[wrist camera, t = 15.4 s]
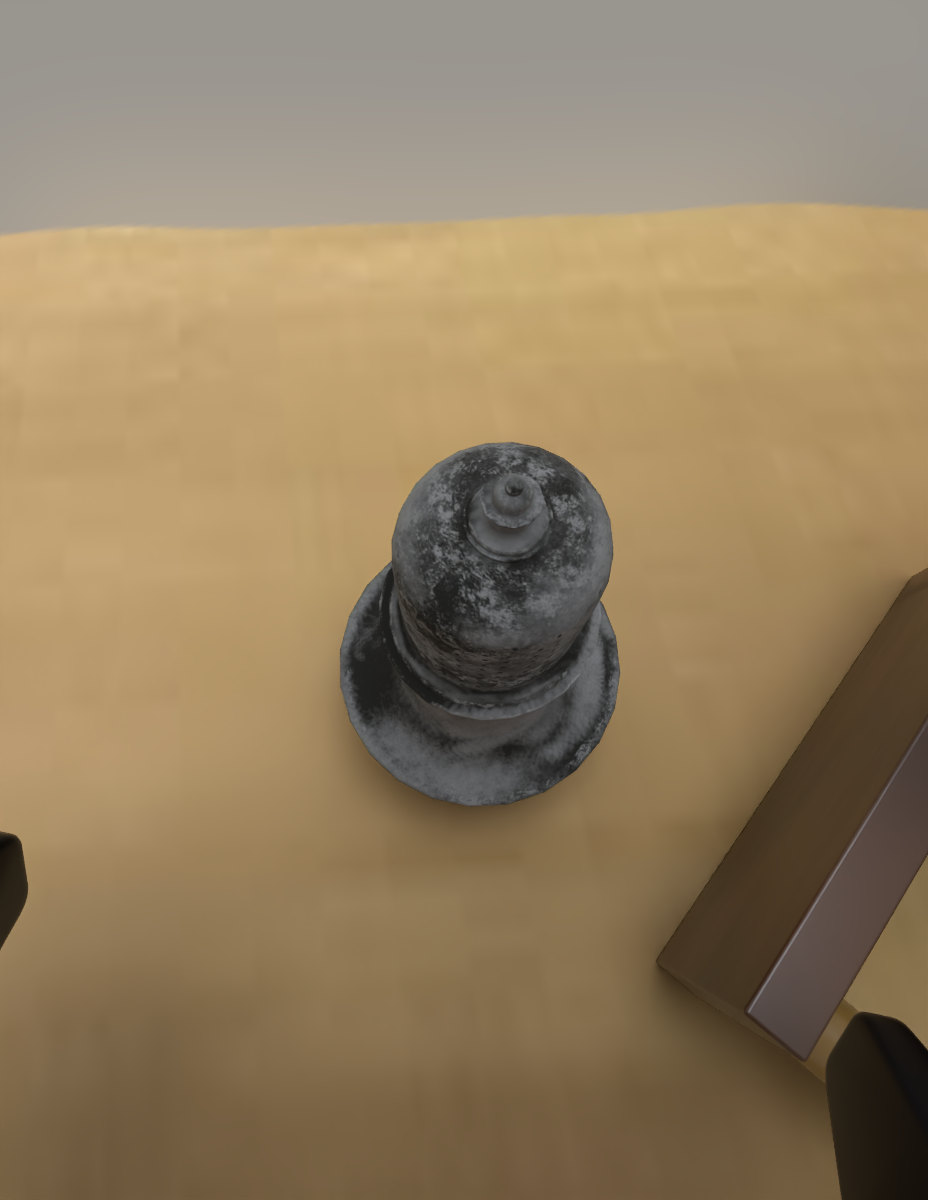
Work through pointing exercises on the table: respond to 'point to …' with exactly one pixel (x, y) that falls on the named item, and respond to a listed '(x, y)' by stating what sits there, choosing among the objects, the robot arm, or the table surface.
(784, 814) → the spice rack
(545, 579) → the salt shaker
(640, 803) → the table surface
